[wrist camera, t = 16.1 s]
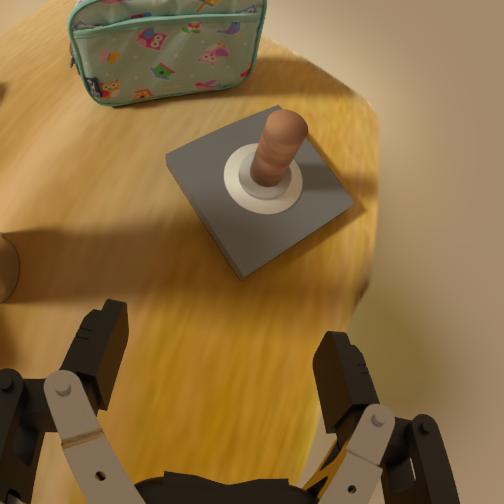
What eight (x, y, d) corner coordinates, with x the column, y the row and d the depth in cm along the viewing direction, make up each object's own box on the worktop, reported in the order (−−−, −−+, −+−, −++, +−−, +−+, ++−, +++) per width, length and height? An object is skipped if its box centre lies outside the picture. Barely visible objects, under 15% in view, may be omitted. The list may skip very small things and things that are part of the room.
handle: (228, 168, 37) (240, 113, 26) (269, 147, 39) (292, 93, 28) (257, 209, 36) (281, 165, 26) (298, 185, 38) (332, 139, 27)
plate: (166, 166, 39) (165, 154, 36) (273, 116, 44) (278, 104, 41) (240, 280, 37) (244, 276, 34) (345, 211, 42) (355, 202, 39)
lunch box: (84, 120, 38) (43, 13, 18) (88, 77, 40) (62, -21, 20) (251, 94, 44) (285, -16, 24) (238, 55, 46) (262, -44, 26)
